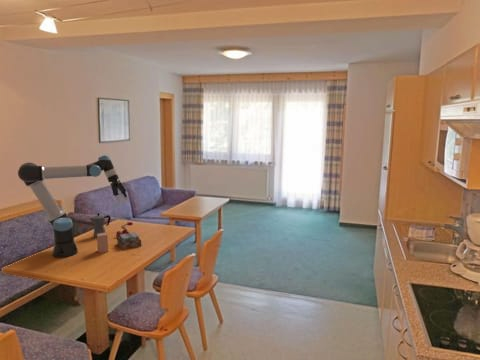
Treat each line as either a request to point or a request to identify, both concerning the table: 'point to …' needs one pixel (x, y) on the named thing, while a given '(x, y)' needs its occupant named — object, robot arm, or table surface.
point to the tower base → (129, 244)
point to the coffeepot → (99, 223)
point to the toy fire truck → (124, 229)
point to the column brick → (102, 242)
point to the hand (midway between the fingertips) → (124, 202)
